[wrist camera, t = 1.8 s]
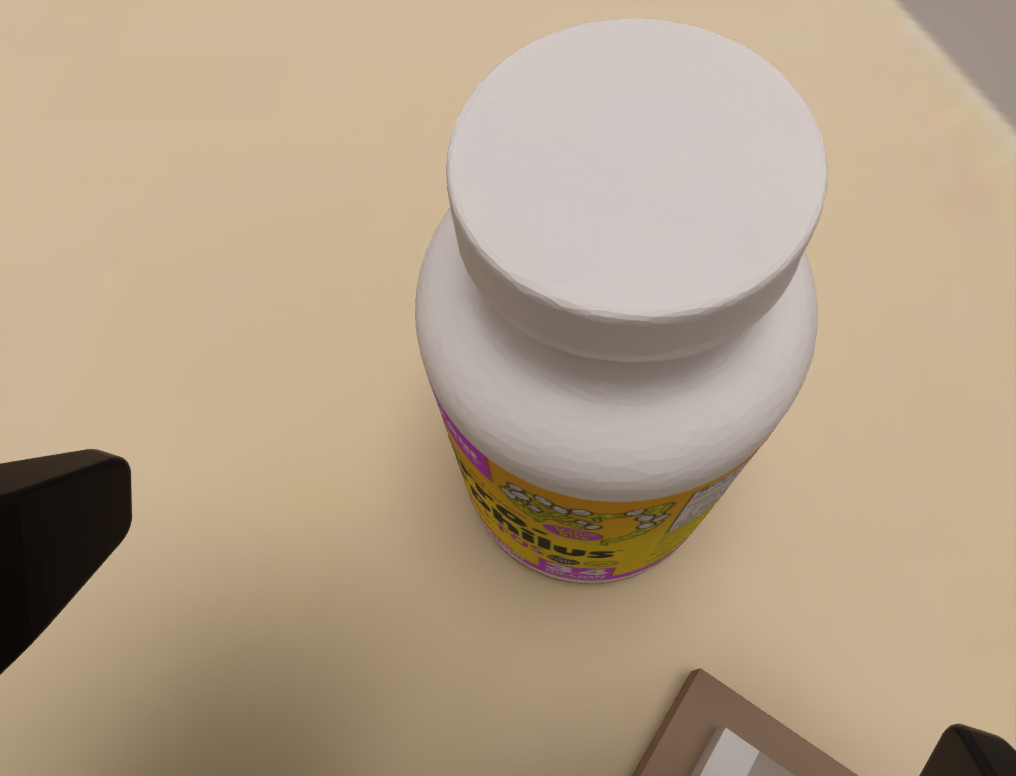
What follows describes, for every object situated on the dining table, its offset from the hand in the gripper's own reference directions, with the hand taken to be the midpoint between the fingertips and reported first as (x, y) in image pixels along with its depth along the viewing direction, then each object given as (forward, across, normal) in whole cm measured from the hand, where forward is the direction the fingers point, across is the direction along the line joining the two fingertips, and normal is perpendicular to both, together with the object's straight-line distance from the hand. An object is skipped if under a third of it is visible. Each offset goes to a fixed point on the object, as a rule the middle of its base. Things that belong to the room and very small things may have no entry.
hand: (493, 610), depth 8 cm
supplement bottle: (+12, 0, +5) cm, 13 cm away
